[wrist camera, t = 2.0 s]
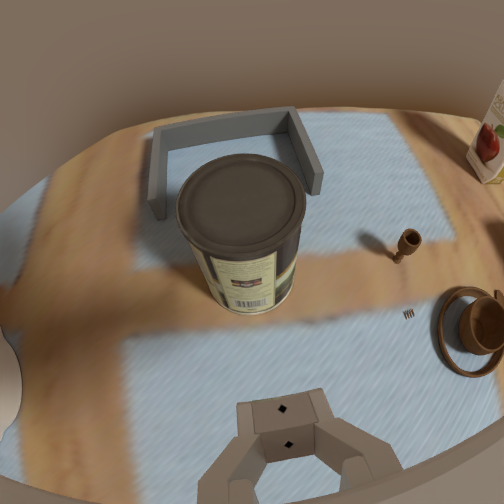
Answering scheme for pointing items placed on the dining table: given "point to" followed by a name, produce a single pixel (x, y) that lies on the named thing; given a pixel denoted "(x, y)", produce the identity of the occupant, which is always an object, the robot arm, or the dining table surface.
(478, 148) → the juice carton
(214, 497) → the robot arm
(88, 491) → the dining table surface
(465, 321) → the place setting
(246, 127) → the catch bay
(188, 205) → the coffee can
